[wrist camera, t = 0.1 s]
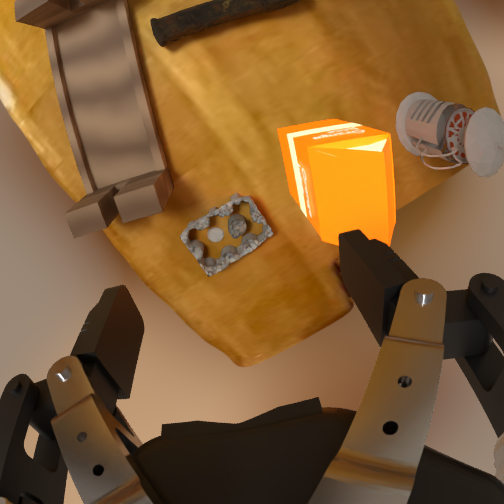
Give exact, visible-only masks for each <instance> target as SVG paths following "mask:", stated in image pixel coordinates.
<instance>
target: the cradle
mask: <svg viewBox="0 0 504 504" xmlns="http://www.w3.org/2000/svg"><path fill="white" fill-rule="evenodd" d="M15 17H16V22H20V23H25V24H28V25H32V26H36V27H40V28H43V29H45V34H46V40H47V46H48V52H49V58H50V63H51V68H52V73H53V78H54V83H55V87H56V92H57V96H58V100H59V104H60V108H61V112H62V116H63V120H64V123H65V127H66V131H67V134H68V138H69V141H70V144H71V148H72V151H73V154H74V157H75V160H76V163H77V167H78V170H79V173H80V176H81V178H82V181H83V184H84V187H85V190H86V193H87V195H86V196H84V197H83V198H82V199H81V200H80V201H79V202H77V203H76V204H75V205H74V206H73V207H72V208H71V209H70V210H68V211H67V212H66V213H65V214H64V215H65V217H66V220H67V222H68V225H69V227H70V229H71V232H72V234H73V236H74V238H76V237H80V236H83V235H86V234H89V233H92V232H96V231H99V230H102V229H106V228H107V227H108V226H109V225H110V224H111V222H112V221H113V220H114V218H115V217H116V216H117V214H118V213H119V214H120V216H121V219H122V222H123V223H126V222H129V221H133V220H136V219H140V218H143V217H147V216H150V215H154V214H157V213H161V212H163V210H164V207H165V205H166V203H167V201H168V199H169V197H170V195H171V193H172V191H173V189H174V186H173V182H172V179H171V175H170V172H169V169H168V165H167V162H166V158H165V155H164V151H163V148H162V144H161V140H160V137H159V133H158V130H157V126H156V122H155V118H154V115H153V111H152V107H151V103H150V99H149V95H148V91H147V87H146V83H145V79H144V75H143V71H142V67H141V62H140V58H139V54H138V49H137V45H136V40H135V36H134V31H133V26H132V22H131V17H130V12H129V7H128V2H127V0H17V1H15Z"/></svg>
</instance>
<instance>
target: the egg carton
mask: <svg viewBox="0 0 504 504" xmlns="http://www.w3.org/2000/svg"><path fill="white" fill-rule="evenodd" d="M241 201H244V202H249V205H250V214H251V217H252V220H253V222H257V223H259V224H260V223H263V224H264V225H263V228H262V229H263V232H262V233H261V234H260V235H255V234H253V233H247V234H245V235H244V236H243V237H242V244H241V245H240V246H238V247H237V248H235V247H234V246H231V245H228V246H225V247H224V248H223V249H222V251H221V257H220V258H219V259H214V258H211V257H208V258H204V257H203V251H204V245H203V243H202V242H201V241H199V240H189V238H188V235H189V230H191V229H193V228H196V229H198V230H203V229H205V228H206V227H209V224H210V217H212V216H213V213H215V214H214V216H216V215H219V216H220V217H224V216H228V215H230V214H231V213H232V211H233V204H237V205H238V204H240V202H241ZM246 222H247V221H245V218H244V217H243V216H242V215H241V214H233V215H231V216H230V218H229V220H228V230H229V233H230V234H231V236H232V237H233V238H238V237H239V236H240V235H242V234H244V233H245V231H246V228H247V225H246ZM272 235H273V233H272V230H271V228H270V226H269V225H268V224H267V222H266V219H265V218H264V216H262V215H261V213H260V212H259V210H258V209H257V206H256V205H255V203H254V201H253V199H252V197H251V196H250V195H249V196H241V195H239V194H238V193H236V194H234V195H232V196H231V201H230V202H228V203H227V204H225V205H222V206H221V207H220V208H219V209H218V208H217V207H213V208H212V209H210V210H209V214H207V215H205V216H203V217H201V218H199V219H197V220H196V221H194V220H193V221H191V222H190V223H189V224H188V227H187V228H186V229H185V230H184V231H183V233H182V234H181V236H180V238H181V239H182V241H183V242H184V244H185V245H186V246H187V247H188V249H189V250H190V252H191V253H193V255H194V256H195V258H196V259H197V261H198V262H199V264H200V266H201V267H202V268H203V270H204V271H205V272H206V274H207V275H208V277H209V276H212V275H213V274H216V273H218V272H219V271H221V270H223V269H225V268H226V267H228V265H229V264H230V263H232V262H234V261H236V260H238V259H240V257H242V256H244V255H246V254H247V253H249V252H252V251H253V250H254V249H255V248H257V247H258V246H259V245H260V244H261V243H262V242H264V241H265V240H266V238H267V237H271V236H272ZM207 236H208V238H209V240H210V241H213V242H219V241H221V240H222V239H223V237H224V232H223V230H222V229H221V228H219V227H213V228H211V229H210V230H209V231H208V234H207Z"/></svg>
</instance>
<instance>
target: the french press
mask: <svg viewBox="0 0 504 504" xmlns="http://www.w3.org/2000/svg"><path fill="white" fill-rule="evenodd" d="M442 103H443V104H442ZM440 104H441V105H440ZM452 104H454V105H455V106H457V107H455V106H453V105H452ZM449 105H451V106H449ZM396 130H397V134H398V137H399V140H400V142H401V143H402V144H403V146H404V147H405V149H406V150H407V151H409V152H411V153H412V154H414V155H416V156H421V160H422V162H423V164H424V165H426V166H428V167H430V168H432V169H436V170H439V169H450V168H454V167H457V166H460V165H461V164H468V163H469V165H470V167H471V169H472V170H473V171H474V172H475V173H476V174H477V175H478V176H480V177H490V176H491V175H494V174H495V173H497V171H498V170H499V169H500V167H501V166H502V165H503V162H504V122H503V119H502V117H501V116H500V115H499V114H498V113H497V112H496V111H495V110H494V109H491V108H488V107H485V108H482V109H479V110H477V111H475V112H474V111H473V110H472V109H470V108H466V107H465V106H464V105H461V104H457V103H451V102H444V101H438V100H437V99H435V98H434V97H433V96H431V95H430V94H429V93H423V92H416V93H413V94H410V95H408V96H407V97H406V98H405V99H404V100H403V101H402V102H401V103H400V106H399V109H398V111H397V114H396ZM445 142H446V146H447V147H446V149H445V151H444V152H442V153H441V151H442V150H443V148H444V144H445ZM447 152H449V153H448V154H445V153H447ZM430 154H432V155H430ZM423 156H427V157H440V158H442V159H444V160H447V161H449V162H453V163H458V164H456V165H454V166H449V167H432V166H430V165H428V164H426V163H425V162H424V160H423ZM449 156H451V157H452V158H445V157H449ZM449 159H454V160H452V161H450V160H449Z"/></svg>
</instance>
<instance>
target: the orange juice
mask: <svg viewBox="0 0 504 504" xmlns="http://www.w3.org/2000/svg"><path fill="white" fill-rule="evenodd" d="M277 131H278V135H279V140H280V145H281V149H282V154H283V159H284V164H285V169H286V174H287V179H288V184H289V190H290V193H291V195H292V196H293V198H294V199H295V201H296V202H297V203H298V205H299V206H300V208H301V210H302V211H303V213H304V214H305V216H306V217H307V218H308V219H309V221H310V222H311V224H312V225H313V226H314V228H315V229H316V231H317V232H318V234H319V235H320V237H321V240H322V241H325V242H328V243H332V244H335V245H338V246H339V243H338V235H339V233H343V232H347V231H351V230H355V229H360V230H361V231H362V232H363V233H364V234H365V235H366V237H367V238H368V239H369V240H371V239H377V240H379V241H382V242H384V243H386V244H387V245H388V246H389V247H390V242H391V238H392V233H393V229H394V224H395V223H396V211H395V186H394V170H393V157H392V146H391V136H390V133H387V132H383V131H380V130H376V129H373V128H369V127H365V126H362V125H359V124H355V123H349V122H345V121H341V120H337V119H329V120H323V121H317V122H311V123H305V124H300V125H295V126H289V127H284V128H279V129H277Z"/></svg>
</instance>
